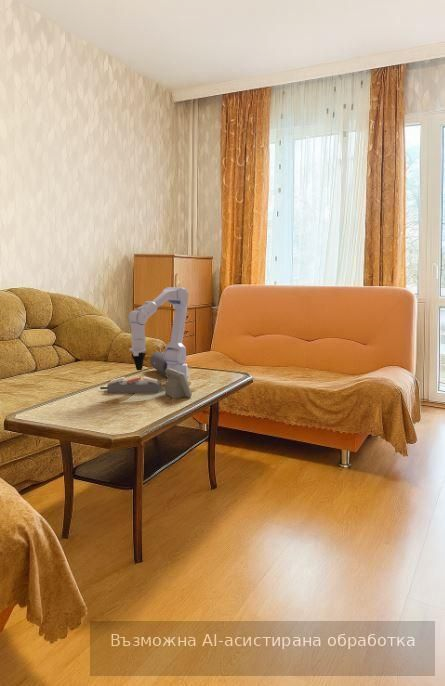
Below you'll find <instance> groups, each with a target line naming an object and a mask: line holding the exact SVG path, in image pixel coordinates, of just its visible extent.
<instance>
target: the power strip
mask: <svg viewBox="0 0 445 686" xmlns="http://www.w3.org/2000/svg"><path fill="white" fill-rule="evenodd" d="M157 380H158V379H157ZM126 381H127V380H122V381H118V382H115V383H110V382H109V383H108V384H107V385H106V386H100V387H99V388H100V390H107V393H108V394H115V393H116V394H124V393H125V394H128V393H129V394H130V393H131V394H134V393H137V394H139V393H140V394H141V393H144V394H145V393H146V394H151V393H153V394H154V393H160V392H161V390H162V380H158V381H157V383H153V382H149V381H146V380H143V379H141V380H138V381H134V382H130V383H127V382H126Z"/></svg>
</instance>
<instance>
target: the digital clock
mask: <svg viewBox="0 0 445 686" xmlns="http://www.w3.org/2000/svg"><path fill="white" fill-rule="evenodd" d="M165 373H166V375H167V376H166V378H167V380H168V382H167V381H166V382H167V383H166V382H165V384H164V392H165V393H164V394H165V395H166V396H169V397H170V398H171V397H172V398H173V399H179V398H187V399H189V398H192V396H193V393H192V390H191V388H190V385H189V382H188V381H187V379H186V377H185V375H184V373H181V372H179V371H176V370H173V369H171V368H167V369H166V370H165Z"/></svg>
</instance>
